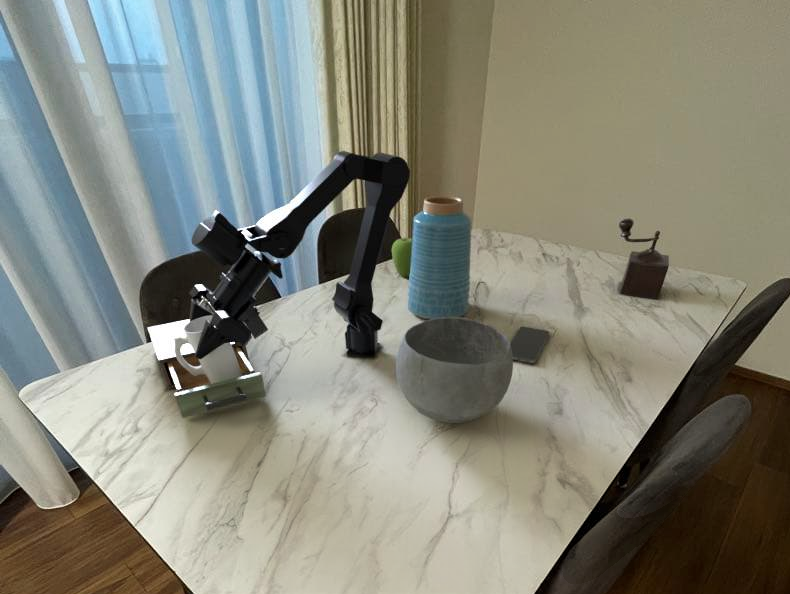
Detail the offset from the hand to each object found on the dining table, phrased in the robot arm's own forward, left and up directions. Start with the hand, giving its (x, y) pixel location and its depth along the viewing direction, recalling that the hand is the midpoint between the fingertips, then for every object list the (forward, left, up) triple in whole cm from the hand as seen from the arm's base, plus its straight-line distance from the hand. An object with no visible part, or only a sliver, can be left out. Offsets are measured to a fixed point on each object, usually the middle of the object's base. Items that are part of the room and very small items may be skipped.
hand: (192, 350), depth 86 cm
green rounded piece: (-27, -74, -10) cm, 79 cm away
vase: (-40, -50, -10) cm, 65 cm away
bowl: (-48, -4, -10) cm, 49 cm away
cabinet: (+8, -12, -10) cm, 18 cm away
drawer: (-3, 0, -9) cm, 9 cm away
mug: (-2, -2, -8) cm, 8 cm away
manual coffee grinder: (-94, -76, -10) cm, 121 cm away
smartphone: (-63, -33, -10) cm, 72 cm away
